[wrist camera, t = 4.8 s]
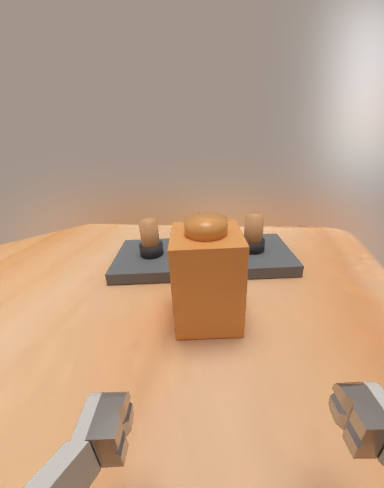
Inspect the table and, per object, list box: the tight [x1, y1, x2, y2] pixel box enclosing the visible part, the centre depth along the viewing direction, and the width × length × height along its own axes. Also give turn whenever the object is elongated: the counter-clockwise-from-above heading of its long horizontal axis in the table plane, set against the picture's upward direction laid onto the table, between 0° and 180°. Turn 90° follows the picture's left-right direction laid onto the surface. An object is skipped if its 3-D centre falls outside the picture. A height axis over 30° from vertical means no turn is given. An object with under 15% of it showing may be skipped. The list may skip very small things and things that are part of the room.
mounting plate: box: [105, 212, 304, 285], centre depth 32 cm, size 24×10×6 cm, turn 90°
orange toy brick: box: [167, 213, 250, 340], centre depth 22 cm, size 6×6×10 cm
